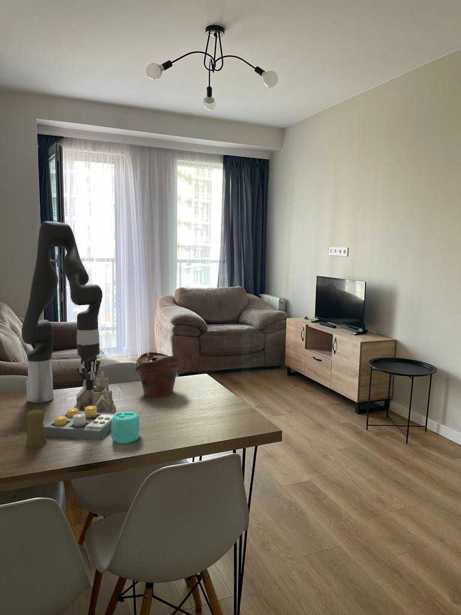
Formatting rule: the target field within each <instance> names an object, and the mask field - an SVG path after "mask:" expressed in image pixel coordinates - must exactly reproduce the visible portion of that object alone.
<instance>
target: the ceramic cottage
mask: <svg viewBox="0 0 461 615" xmlns="http://www.w3.org/2000/svg"><path fill="white" fill-rule="evenodd" d="M109 384H110V382H109V377H106V376H105V372H104V371H103V370H102V371H101V374H99V376H98V377H96V378H95V386H94V389H93V390H91V391H90V390H86V380H84V385H83V386H82V388H81V389H80V391H78V393H77V394H76V395H75V396H76V404H75V405H74V407H73V408H77V409H79V411H82V412H85V407H88V406H96V407H97V413H109V414H116V411H117V406H116V405H115V402H114V399H113V390H110V388H109V386H110V385H109Z"/></svg>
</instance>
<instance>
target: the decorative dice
mask: <svg viewBox="0 0 461 615" xmlns="http://www.w3.org/2000/svg"><path fill="white" fill-rule="evenodd" d="M114 414H115V415H114V416H113V418H112V424H111V430H110V432H111V434H110V435H111V439H112V440H113V441H114V442H115V443H118V444H130V443H133V442H136V441H137V440H138V439H139V436H140V416H139V414H138V413H136V412H134V411H130V410H129V411H127V410H126V411H120V412H117V413H114Z"/></svg>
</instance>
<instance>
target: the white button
mask: <svg viewBox="0 0 461 615" xmlns="http://www.w3.org/2000/svg"><path fill="white" fill-rule="evenodd" d="M85 424H86V415H85V414H76V415H74V416H73V425H74V426H84V425H85Z"/></svg>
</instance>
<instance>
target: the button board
mask: <svg viewBox="0 0 461 615" xmlns="http://www.w3.org/2000/svg"><path fill="white" fill-rule="evenodd" d="M79 414H85V412H82V411H79ZM115 414H116V413H114V414H109V413H97V416H96V417H93V418H86V424H85V425H84V426H74V425H73V418H69V417H67V411H65V412H64V413H62V414H60V416H66V417H67V424H66V425H65V426H64V427H63V426H55V424H54V419H53V420H52V421H49V422H48V423H47V424H46V425H43V426H44V431H45V436H49V437H57V438H58V437H60V438H69V439H82V440H83V439H84V440H93V441H94V440H95V441H100V440H101V439H102V438H103V437H105V436H106V435H107V434H108V433H109V432H111V424H112V418H113V416H114V415H115Z"/></svg>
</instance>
